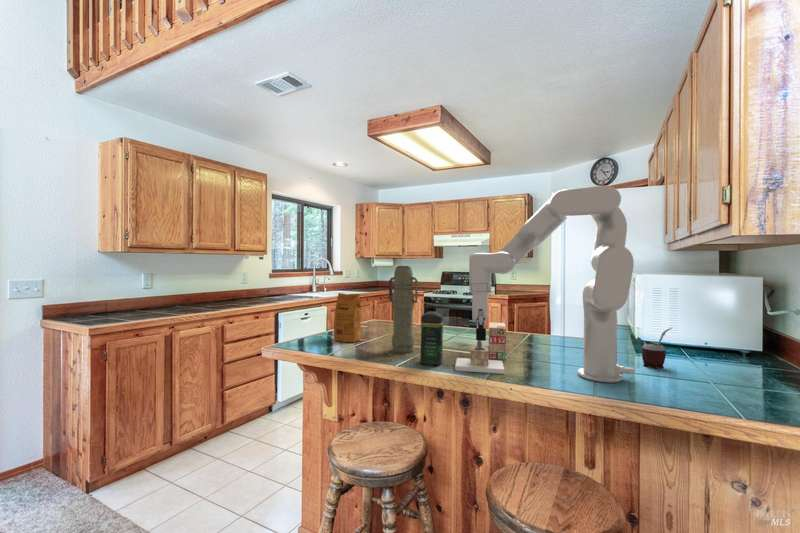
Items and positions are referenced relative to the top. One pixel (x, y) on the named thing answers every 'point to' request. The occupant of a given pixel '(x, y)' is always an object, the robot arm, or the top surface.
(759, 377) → the top surface
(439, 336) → the coffee jar
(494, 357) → the food package box
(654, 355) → the mate gourd
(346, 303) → the coffee package
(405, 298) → the thermos
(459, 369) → the needle board
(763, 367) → the top surface
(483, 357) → the bead
